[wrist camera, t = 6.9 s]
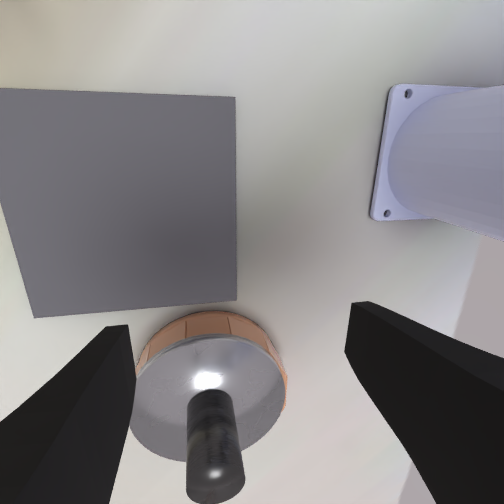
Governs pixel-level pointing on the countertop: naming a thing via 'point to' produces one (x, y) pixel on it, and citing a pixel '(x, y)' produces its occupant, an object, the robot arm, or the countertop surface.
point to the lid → (207, 408)
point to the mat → (119, 198)
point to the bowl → (207, 325)
